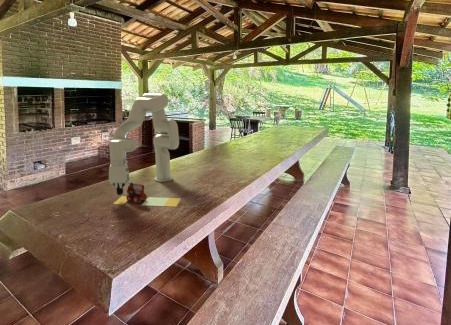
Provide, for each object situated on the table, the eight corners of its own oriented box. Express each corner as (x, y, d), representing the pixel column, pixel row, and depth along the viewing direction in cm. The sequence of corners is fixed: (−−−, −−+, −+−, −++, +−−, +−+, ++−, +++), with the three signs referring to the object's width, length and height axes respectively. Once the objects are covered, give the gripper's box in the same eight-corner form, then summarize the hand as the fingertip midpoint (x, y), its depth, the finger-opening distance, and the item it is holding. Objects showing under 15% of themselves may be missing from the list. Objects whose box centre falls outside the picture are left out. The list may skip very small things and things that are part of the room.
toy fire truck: (133, 196, 169) (131, 179, 166) (149, 200, 163) (147, 183, 161) (123, 200, 163) (122, 183, 161) (140, 204, 157) (138, 186, 155)
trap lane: (121, 196, 170) (121, 196, 170) (181, 198, 168) (181, 198, 167) (112, 204, 158) (112, 203, 158) (176, 206, 156) (176, 206, 156)
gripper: (133, 161, 161) (135, 192, 166) (107, 160, 162) (110, 191, 167) (128, 164, 154) (130, 197, 158) (101, 163, 155) (103, 196, 159)
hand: (120, 194), depth 162 cm, fingers closed
